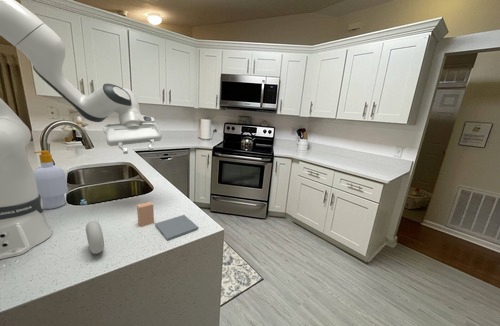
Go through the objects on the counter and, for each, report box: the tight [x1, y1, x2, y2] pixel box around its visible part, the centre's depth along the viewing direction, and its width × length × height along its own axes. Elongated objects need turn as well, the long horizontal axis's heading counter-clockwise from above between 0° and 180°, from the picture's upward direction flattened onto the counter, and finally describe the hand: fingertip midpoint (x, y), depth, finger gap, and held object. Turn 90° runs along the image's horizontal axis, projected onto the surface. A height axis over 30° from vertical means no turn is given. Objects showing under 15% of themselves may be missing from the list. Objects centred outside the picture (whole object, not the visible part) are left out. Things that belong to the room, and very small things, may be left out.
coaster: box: [154, 214, 199, 242], centre depth 80 cm, size 12×12×1 cm
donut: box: [85, 220, 105, 255], centre depth 64 cm, size 10×3×10 cm, turn 44°
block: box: [136, 201, 155, 228], centre depth 81 cm, size 5×3×8 cm, turn 133°
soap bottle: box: [33, 149, 69, 210], centre depth 87 cm, size 10×10×24 cm
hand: (138, 151), depth 84 cm, fingers open, 8 cm apart
